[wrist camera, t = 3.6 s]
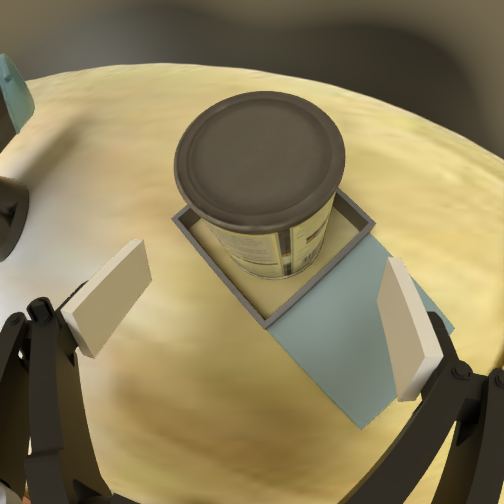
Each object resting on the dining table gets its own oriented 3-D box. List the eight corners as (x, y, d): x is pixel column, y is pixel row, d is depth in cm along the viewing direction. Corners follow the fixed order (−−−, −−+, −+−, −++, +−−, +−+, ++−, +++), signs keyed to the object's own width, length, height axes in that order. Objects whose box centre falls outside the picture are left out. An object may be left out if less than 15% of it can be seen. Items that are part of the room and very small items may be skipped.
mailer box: (181, 229, 31) (171, 218, 28) (276, 151, 32) (274, 135, 29) (360, 428, 23) (367, 438, 20) (453, 328, 24) (467, 326, 21)
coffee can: (240, 178, 32) (207, 85, 18) (332, 197, 30) (353, 103, 16) (210, 266, 29) (146, 209, 16) (310, 292, 27) (329, 250, 14)
